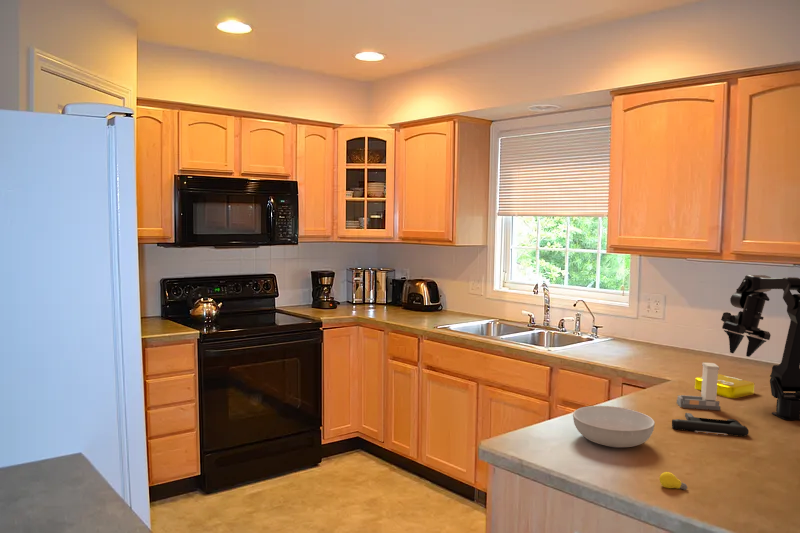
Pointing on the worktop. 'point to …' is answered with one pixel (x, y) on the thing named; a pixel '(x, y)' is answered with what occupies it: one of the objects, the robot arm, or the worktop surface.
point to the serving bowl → (613, 425)
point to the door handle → (710, 425)
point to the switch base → (697, 402)
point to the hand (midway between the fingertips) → (739, 354)
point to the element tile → (729, 386)
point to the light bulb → (671, 481)
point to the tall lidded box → (709, 381)
